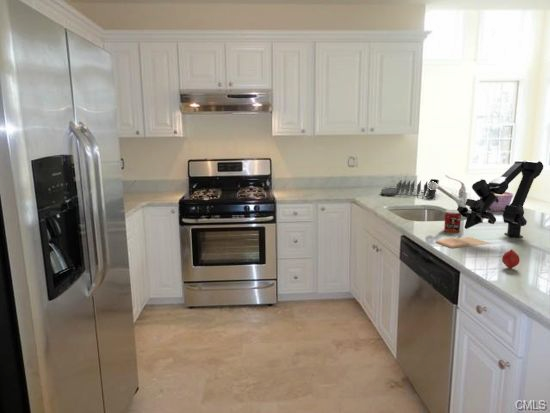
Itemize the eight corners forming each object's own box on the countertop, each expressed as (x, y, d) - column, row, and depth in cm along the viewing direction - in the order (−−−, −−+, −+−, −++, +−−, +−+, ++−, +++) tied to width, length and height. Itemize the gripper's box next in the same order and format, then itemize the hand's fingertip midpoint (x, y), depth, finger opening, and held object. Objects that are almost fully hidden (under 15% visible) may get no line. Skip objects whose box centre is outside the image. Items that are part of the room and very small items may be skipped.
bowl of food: (474, 206, 273) (475, 190, 271) (506, 207, 267) (508, 191, 265) (481, 212, 254) (482, 195, 252) (515, 213, 249) (517, 195, 246)
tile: (452, 238, 191) (436, 240, 187) (468, 243, 182) (452, 245, 178) (452, 242, 191) (435, 244, 188) (468, 247, 182) (451, 250, 179)
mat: (470, 237, 196) (470, 236, 196) (490, 244, 185) (490, 243, 185) (451, 240, 192) (451, 239, 192) (470, 246, 181) (470, 246, 181)
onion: (499, 265, 156) (501, 246, 155) (515, 266, 155) (518, 247, 153) (503, 270, 151) (505, 250, 149) (520, 271, 149) (522, 251, 148)
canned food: (444, 232, 207) (445, 212, 205) (443, 229, 214) (445, 209, 212) (460, 233, 204) (461, 213, 202) (459, 230, 211) (460, 210, 209)
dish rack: (436, 199, 303) (437, 184, 300) (378, 196, 321) (379, 182, 319) (438, 193, 333) (439, 179, 331) (385, 190, 351) (386, 177, 349)
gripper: (460, 189, 193) (442, 214, 191) (493, 195, 176) (473, 222, 174) (472, 204, 197) (453, 227, 196) (504, 210, 180) (485, 236, 178)
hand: (465, 228), depth 186 cm, fingers closed
